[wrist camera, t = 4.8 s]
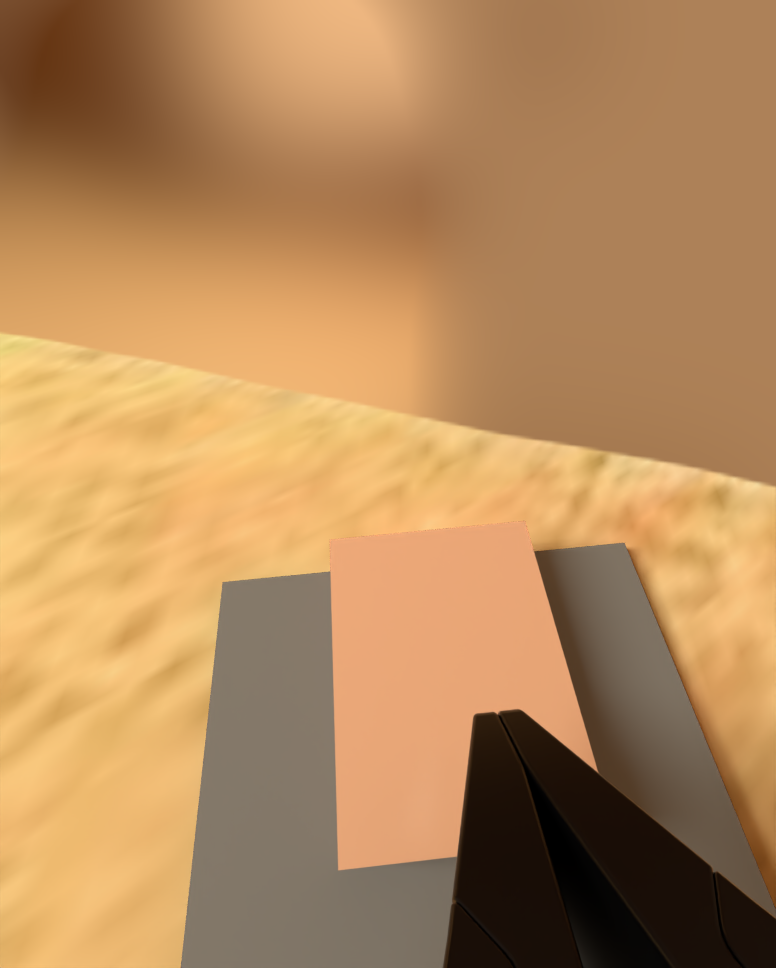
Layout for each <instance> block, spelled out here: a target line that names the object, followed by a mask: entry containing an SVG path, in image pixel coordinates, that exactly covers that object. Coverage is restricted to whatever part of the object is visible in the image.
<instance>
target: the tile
mask: <svg viewBox="0 0 776 968" xmlns="http://www.w3.org/2000/svg"><path fill="white" fill-rule="evenodd" d="M330 572H331V611H332V649H333V688H334V726H335V765H336V803H337V842H338V870H346V869H354V868H363V867H371V866H380V865H388V864H397V863H406V862H414V861H423V860H431V859H440V858H448V857H457V852H458V843H459V834H460V826H461V817H462V809H463V800H464V791H465V783H466V774H467V765H468V757H469V748H470V740H471V731H472V722H473V716H474V715H475V714H476V713H485V712H495V713H497V714H498V713H499V712H500V711H503V710H512V709H520V710H522V711H524V712H525V713H526V714H527V715H529V716H530V717H531V718H532V719H534V720H535V721H536V722H537V723H538V724H540V725H541V726H542V727H543V728H544V729H546V730H547V731H548V732H549V733H551V734H552V735H553V736H554V737H555V738H557V739H558V740H559V741H560V742H561V743H563V744H564V745H565V746H566V747H568V748H569V749H570V750H571V751H572V752H574V753H575V754H576V755H577V756H578V757H580V758H581V759H582V760H583V761H585V762H586V763H587V764H588V765H589V766H591V767H592V768H593V769H594V770H595V771H597V772H598V770H597V767H596V763H595V760H594V756H593V753H592V749H591V746H590V743H589V739H588V736H587V732H586V729H585V725H584V722H583V718H582V715H581V712H580V708H579V705H578V701H577V698H576V694H575V691H574V688H573V684H572V681H571V677H570V674H569V670H568V667H567V663H566V660H565V657H564V653H563V650H562V646H561V643H560V639H559V636H558V633H557V629H556V626H555V622H554V619H553V615H552V612H551V608H550V605H549V602H548V598H547V595H546V591H545V588H544V584H543V581H542V577H541V574H540V571H539V567H538V564H537V560H536V557H535V553H534V550H533V547H532V543H531V540H530V536H529V533H528V529H527V526H526V522H525V521H518V522H508V523H497V524H487V525H477V526H466V527H456V528H445V529H435V530H425V531H414V532H404V533H393V534H383V535H373V536H362V537H352V538H341V539H331V540H330Z"/></svg>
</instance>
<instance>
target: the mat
mask: <svg viewBox="0 0 776 968" xmlns="http://www.w3.org/2000/svg"><path fill="white" fill-rule="evenodd" d="M534 553H535V557H536V560H537V564H538V567H539V571H540V574H541V577H542V581H543V584H544V588H545V591H546V595H547V598H548V602H549V605H550V608H551V612H552V615H553V619H554V622H555V626H556V629H557V633H558V636H559V639H560V643H561V646H562V650H563V653H564V657H565V660H566V663H567V667H568V670H569V674H570V677H571V681H572V684H573V688H574V691H575V694H576V698H577V701H578V705H579V708H580V712H581V715H582V718H583V722H584V725H585V729H586V732H587V736H588V739H589V743H590V746H591V749H592V753H593V756H594V760H595V763H596V767H597V770H598V773H599V774H600V775H602V776H603V777H604V778H605V779H606V780H608V781H609V782H610V783H611V784H612V785H614V786H615V787H616V788H617V789H619V790H620V791H621V792H622V793H623V794H625V795H626V796H627V797H628V798H630V799H631V800H632V801H633V802H634V803H636V804H637V805H638V806H639V807H640V808H642V809H643V810H644V811H645V812H647V813H648V814H649V815H650V816H651V817H653V818H654V819H655V820H656V821H657V822H659V823H660V824H661V825H662V826H664V827H665V828H666V829H667V830H668V831H670V832H671V833H672V834H673V835H674V836H676V837H677V838H678V839H679V840H681V841H682V842H683V843H684V844H685V845H687V846H688V847H689V848H690V849H691V850H693V851H694V852H695V853H696V854H698V855H699V856H700V857H701V858H702V859H704V860H705V861H706V862H707V863H708V864H710V865H711V866H712V868H713V874H714V872H715V871H718V872H720V873H721V874H722V875H723V876H725V877H726V878H727V879H728V880H729V881H731V882H732V883H733V884H734V885H736V886H737V887H738V888H739V889H740V890H742V891H743V892H744V893H745V894H746V895H748V896H749V897H750V898H751V899H753V900H754V901H755V902H756V903H758V904H759V905H760V906H762V907H763V908H764V909H765V910H767V911H768V912H769V913H770V914H772V915H773V916H774V917H775V918H776V909H775V906H774V904H773V902H772V899H771V897H770V894H769V892H768V889H767V887H766V885H765V882H764V880H763V877H762V875H761V873H760V870H759V868H758V865H757V863H756V860H755V858H754V856H753V853H752V851H751V848H750V846H749V843H748V841H747V839H746V836H745V834H744V831H743V829H742V827H741V824H740V822H739V819H738V817H737V814H736V812H735V810H734V807H733V805H732V802H731V800H730V797H729V795H728V793H727V790H726V788H725V785H724V783H723V780H722V778H721V776H720V773H719V771H718V768H717V766H716V764H715V761H714V759H713V756H712V754H711V751H710V749H709V747H708V744H707V742H706V739H705V737H704V734H703V732H702V730H701V727H700V725H699V722H698V720H697V718H696V715H695V713H694V710H693V708H692V705H691V703H690V701H689V698H688V696H687V693H686V691H685V688H684V686H683V684H682V681H681V679H680V676H679V674H678V672H677V669H676V667H675V664H674V662H673V659H672V657H671V655H670V652H669V650H668V647H667V645H666V642H665V640H664V638H663V635H662V633H661V630H660V628H659V625H658V623H657V621H656V618H655V616H654V613H653V611H652V609H651V606H650V604H649V601H648V599H647V596H646V594H645V592H644V589H643V587H642V584H641V582H640V579H639V577H638V575H637V572H636V570H635V567H634V565H633V563H632V560H631V558H630V555H629V553H628V550H627V548H626V546H625V543H617V544H607V545H597V546H587V547H576V548H566V549H556V550H546V551H536V552H534ZM456 860H457V857H448V858H440V859H431V860H423V861H414V862H406V863H397V864H388V865H380V866H371V867H363V868H354V869H346V870H338V842H337V803H336V765H335V726H334V688H333V649H332V611H331V572H322V573H312V574H301V575H291V576H281V577H271V578H261V579H250V580H240V581H230V582H223V585H222V594H221V603H220V612H219V622H218V631H217V640H216V649H215V658H214V667H213V677H212V686H211V695H210V704H209V713H208V723H207V732H206V741H205V750H204V759H203V768H202V778H201V787H200V796H199V805H198V814H197V824H196V833H195V842H194V851H193V860H192V870H191V879H190V888H189V897H188V906H187V915H186V925H185V934H184V943H183V952H182V961H181V968H443V962H444V956H445V949H446V942H447V935H448V926H449V918H450V909H451V905H452V895H453V886H454V877H455V869H456Z"/></svg>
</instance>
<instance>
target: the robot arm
mask: <svg viewBox="0 0 776 968" xmlns="http://www.w3.org/2000/svg"><path fill="white" fill-rule="evenodd" d="M443 968H776V918H775V917H774V916H773V915H772V914H770V913H769V912H768V911H767V910H765V909H764V908H763V907H762V906H760V905H759V904H758V903H756V902H755V901H754V900H753V899H751V898H750V897H749V896H748V895H746V894H745V893H744V892H743V891H742V890H740V889H739V888H738V887H737V886H736V885H734V884H733V883H732V882H731V881H729V880H728V879H727V878H726V877H725V876H723V875H722V874H721V873H720V872H718V871H715V872H714V874H713V868H712V866H711V865H710V864H708V863H707V862H706V861H705V860H704V859H702V858H701V857H700V856H699V855H698V854H696V853H695V852H694V851H693V850H691V849H690V848H689V847H688V846H687V845H685V844H684V843H683V842H682V841H681V840H679V839H678V838H677V837H676V836H674V835H673V834H672V833H671V832H670V831H668V830H667V829H666V828H665V827H664V826H662V825H661V824H660V823H659V822H657V821H656V820H655V819H654V818H653V817H651V816H650V815H649V814H648V813H647V812H645V811H644V810H643V809H642V808H640V807H639V806H638V805H637V804H636V803H634V802H633V801H632V800H631V799H630V798H628V797H627V796H626V795H625V794H623V793H622V792H621V791H620V790H619V789H617V788H616V787H615V786H614V785H612V784H611V783H610V782H609V781H608V780H606V779H605V778H604V777H603V776H602V775H600V774H599V773H598V772H597V771H595V770H594V769H593V768H592V767H591V766H589V765H588V764H587V763H586V762H585V761H583V760H582V759H581V758H580V757H578V756H577V755H576V754H575V753H574V752H572V751H571V750H570V749H569V748H568V747H566V746H565V745H564V744H563V743H561V742H560V741H559V740H558V739H557V738H555V737H554V736H553V735H552V734H551V733H549V732H548V731H547V730H546V729H544V728H543V727H542V726H541V725H540V724H538V723H537V722H536V721H535V720H534V719H532V718H531V717H530V716H529V715H527V714H526V713H525V712H524V711H522V710H520V709H512V710H503V711H500V712H499V713H498V714H497V713H495V712H485V713H476V714H475V715H474V716H473V722H472V731H471V740H470V748H469V757H468V765H467V774H466V783H465V791H464V800H463V809H462V817H461V826H460V834H459V843H458V852H457V860H456V869H455V877H454V886H453V895H452V905H451V909H450V918H449V926H448V935H447V942H446V949H445V956H444V962H443Z"/></svg>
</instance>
